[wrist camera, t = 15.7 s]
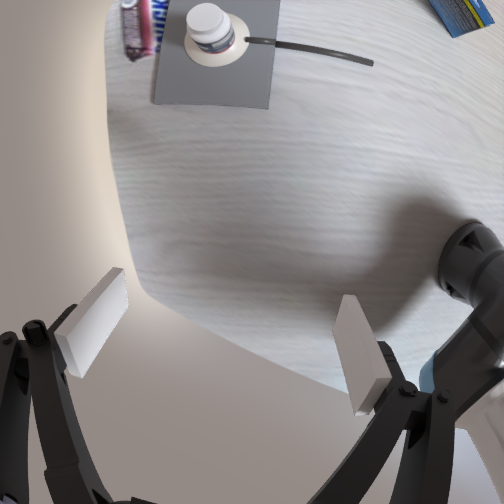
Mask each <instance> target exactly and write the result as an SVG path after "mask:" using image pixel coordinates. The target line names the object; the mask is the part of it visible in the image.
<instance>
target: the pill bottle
mask: <svg viewBox="0 0 504 504" xmlns="http://www.w3.org/2000/svg"><path fill="white" fill-rule="evenodd" d="M186 22H187V32H188V34H189V36H190V37H191V39H192V40H193V41H194V42H195V43H196V44H197V46H198V47H199V48H200V49H201V50H202V51H203V52H205V53H208V54H221V53H223V52H226V51H227V50H229V49H230V48H231V47H232V45H233V44H234V41H235V32H234V29H233V26H232V23H231V20H230V18H229V16H228V15H227V13H226V12H224V11H223V10H221V9H220V8H219V7H218V6H217V5H215V4H212V3H202V4H199V5H196V6H195V7H193V8H192V9H191V10H190V11H189V12H188V14H187V17H186Z"/></svg>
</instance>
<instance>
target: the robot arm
mask: <svg viewBox="0 0 504 504" xmlns="http://www.w3.org/2000/svg"><path fill="white" fill-rule="evenodd" d="M438 277H439V282H440V284H441V286H442V288H443V289H444V290H445V291H446V292H447V294H448V295H449V296H451V297H452V298H454V299H456V300H459V301H461V302H464V303H466V304H468V305H471V306H472V307H473V308H474V310H473V312H472V313H471V314H470V315H469V316H468V318H467V319H466V320H465V321H464V322H463V323H462V325H461V326H460V327H459V328H458V329H457V330H456V331H455V332H454V334H453V335H452V336H451V337H450V338H449V339H448V340H447V341H446V342H445V343H444V344H443V345H442V346H441V347H440V348H439V349H438V350H436V351H435V352H434V354H433V356H432V357H431V358H430V359H429V360H428V361H427V362H426V363H425V365H424V366H423V367H422V369H421V371H420V376H419V386H420V391H421V392H420V391H418V389H417V387H416V386H415V385H414V384H413V383H411V382H409V381H406V380H405V377H404V375H403V373H402V371H401V368H400V366H399V364H398V362H397V360H396V358H395V356H394V353H393V351H392V349H391V347H390V346H389V345H388V344H387V343H386V342H385V341H376V338H375V336H374V334H373V332H372V330H371V327H370V325H369V323H368V321H367V319H366V317H365V314H364V312H363V310H362V308H361V306H360V304H359V302H358V300H357V298H356V296H355V295H345V294H344V295H343V298H342V301H341V305H340V308H339V311H338V314H337V318H336V321H335V324H334V327H333V330H332V332H333V336H334V339H335V343H336V346H337V350H338V354H339V357H340V361H341V365H342V368H343V372H344V376H345V380H346V384H347V388H348V392H349V396H350V400H351V403H352V408H353V412H354V415H355V416H357V415H369V413H370V412H371V410H372V409H373V408H374V411H375V415H374V417H373V418H372V420H371V421H370V423H369V424H368V425H367V428H366V429H365V431H364V432H363V433H362V435H361V437H360V438H359V439H358V441H357V442H356V444H355V445H354V447H353V448H352V449H351V451H350V452H349V453H348V455H347V456H346V457H345V459H344V460H343V461H342V463H341V464H340V465H339V467H338V468H337V469H336V470H335V471H334V473H333V474H332V475H331V476H330V478H329V479H328V480H327V481H326V482H325V484H324V485H323V486H322V487H321V488H320V489H319V490H318V492H317V493H316V494H315V495H314V496H313V497H312V498H311V499H310V501H309V502H308V503H307V504H359V502H360V501H361V499H362V498H363V497H364V495H365V494H366V492H367V491H368V489H369V488H370V486H371V485H372V483H373V482H374V480H375V478H376V477H377V475H378V474H379V472H380V470H381V469H382V467H383V465H384V464H385V462H386V460H387V458H388V457H389V455H390V453H391V451H392V450H393V448H394V446H395V444H396V442H397V440H398V438H399V436H400V435H401V432H402V430H407V433H406V438H405V443H404V448H403V453H402V458H401V462H400V467H399V471H398V475H397V479H396V482H395V486H394V490H393V493H392V496H391V500H390V503H389V504H447V503H448V497H449V491H450V484H451V475H452V466H453V454H454V435H455V432H454V431H455V428H460V429H465V430H467V431H468V434H469V435H470V437H471V439H472V441H473V443H474V445H475V446H476V449H477V451H478V452H479V454H480V457H481V458H482V461H483V463H484V465H485V467H486V469H487V471H488V473H489V475H490V477H491V480H492V482H493V484H494V486H495V489H496V491H497V493H498V496H499V498H500V501H501V503H502V504H504V247H503V246H502V244H501V243H500V241H499V240H498V238H497V237H496V235H495V234H494V233H493V232H492V231H491V230H490V229H489V228H487V227H486V226H484V225H482V224H480V223H470V224H467V225H465V226H463V227H461V228H460V229H459V230H457V231H456V232H455V233H454V234H453V235H452V237H451V238H450V239H449V241H448V242H447V244H446V246H445V248H444V250H443V252H442V255H441V258H440V261H439V267H438ZM128 307H129V305H128V298H127V290H126V282H125V274H124V269H122V268H115V267H113V268H112V269H111V270H110V271H109V272H108V273H107V274H106V275H105V276H104V277H103V278H102V280H100V282H99V283H98V284H97V285H96V286H95V287H94V288H93V289H92V290H91V291H90V292H89V293H88V294H87V296H86V297H85V298H84V299H83V300H82V301H81V302H80V303H79V304H78V305H77V304H73V305H71V306H70V307H68V308H67V309H66V310H65V311H64V312H63V313H62V315H60V316H59V317H58V319H57V320H56V321H55V322H54V323H53V324H52V325H51V326H50V328H49V329H48V330H47V329H46V326H45V324H44V322H43V321H41V320H32V321H29V322H28V323H26V324H25V325H24V326H23V328H22V332H23V334H24V337H25V339H26V340H18V337H17V335H16V333H14V332H11V331H9V332H5V333H3V334H2V335H0V504H29V485H28V428H29V414H30V404H31V395H32V400H33V407H34V413H35V419H36V424H37V429H38V434H39V438H40V442H41V447H42V451H43V454H44V458H45V462H46V465H47V469H46V470H45V471H44V476H45V480H46V483H47V486H48V489H49V492H50V495H51V497H52V500H53V503H54V504H156V503H152V502H148V501H145V500H141V499H137V498H135V497H132V498H131V501H117V502H114V501H113V500H112V498H111V496H110V495H109V493H108V492H107V490H106V489H105V488H104V486H103V484H102V482H101V479H100V477H99V475H98V473H97V470H96V469H95V466H94V463H93V461H92V459H91V456H90V454H89V451H88V449H87V446H86V443H85V440H84V438H83V435H82V432H81V429H80V426H79V423H78V420H77V417H76V413H75V410H74V406H73V403H72V399H71V396H70V392H69V388H68V384H67V380H66V375H65V373H64V370H65V368H66V367H68V370H69V372H70V374H71V375H74V376H77V377H80V378H83V376H84V375H85V373H86V371H87V370H88V368H89V367H90V365H91V363H92V362H93V360H94V359H95V357H96V355H97V353H98V352H99V351H100V349H101V347H102V346H103V344H104V343H105V341H106V340H107V338H108V336H109V335H110V333H111V332H112V330H113V329H114V327H115V326H116V324H117V323H118V321H119V320H120V319H121V317H122V316H123V314H124V313H125V311H126V310H127V308H128Z"/></svg>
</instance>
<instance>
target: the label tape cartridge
mask: <svg viewBox="0 0 504 504" xmlns="http://www.w3.org/2000/svg"><path fill="white" fill-rule="evenodd" d="M429 2H430V3H431V4H432V6H433V7H434V9H435V10H436V12H437V13H438V15H439V16H440V18H441V19H442V21H443V22H444V24H445V25H446V27H447V29H448V30H449V32H450V34H451V35H452V37H453V38H456V37H458V36H461V35H464V34H467V33H470V32H473V31H476V30H479V29H482V28H485V27H488V26H490V24H494V23H495V22H494V20H493V18H492V17H491V15H490V13H489V12H488V10H487V8H486V7H485V5H484V4H483V2H482V0H477V3H478V4H479V6H480V7H479V6H478V4H477V3H476V1H475V0H429Z"/></svg>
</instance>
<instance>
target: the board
mask: <svg viewBox="0 0 504 504" xmlns="http://www.w3.org/2000/svg"><path fill="white" fill-rule="evenodd" d="M202 3H212V4H215V5H217V6H218V7H219V8H220V9H221V10H223V11H224V12H226V13H227V15H228V16H229V18H230V20H231V23H232V26H233V29H234V32H235V41H234V44H233V45H232V47H231V48H230V49H229V50H227V51H226V52H223V53H221V54H208V53H205V52H203V51H202V50H201V49H200V48H199V47H198V46H197V44H196V43H195V42H194V41H193V40H192V39H191V37H190V36H189V34H188V32H187V22H186V17H187V14H188V12H189V11H190V10H191V9H192V8H193V7H195V6H196V5H199V4H202ZM279 8H280V0H170V2H169V7H168V12H167V17H166V22H165V27H164V32H163V38H162V44H161V50H160V57H159V64H158V71H157V79H156V88H155V97H154V104H156V105H161V104H197V105H223V106H238V107H250V108H260V109H268V106H269V97H270V88H271V79H272V70H273V61H274V52H275V47H278V48H286V49H293V50H300V51H306V52H312V53H317V54H322V55H327V56H332V57H337V58H341V59H345V60H349V61H353V62H357V63H361V64H365V65H368V66H373V63H374V62H373V60H369V59H366V58H362V57H359V56H355V55H351V54H347V53H343V52H338V51H334V50H329V49H324V48H319V47H314V46H308V45H302V44H296V43H289V42H281V41H276V35H277V26H278V17H279Z"/></svg>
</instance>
